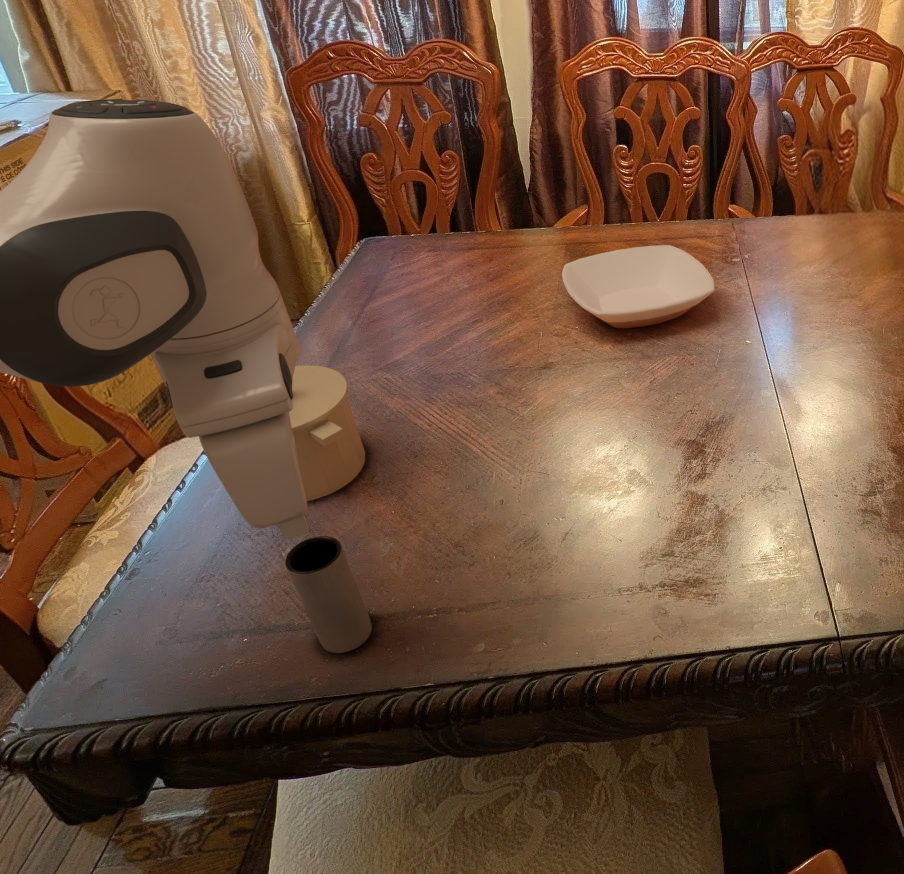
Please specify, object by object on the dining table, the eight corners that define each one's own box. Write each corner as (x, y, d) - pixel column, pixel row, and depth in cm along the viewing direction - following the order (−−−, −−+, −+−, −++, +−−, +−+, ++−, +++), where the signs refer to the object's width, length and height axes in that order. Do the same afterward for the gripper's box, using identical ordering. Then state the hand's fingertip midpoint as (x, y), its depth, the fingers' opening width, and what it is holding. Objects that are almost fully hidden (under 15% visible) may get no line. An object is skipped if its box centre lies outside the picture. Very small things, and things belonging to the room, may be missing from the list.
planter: (382, 623, 74) (353, 542, 68) (349, 660, 71) (314, 579, 65) (344, 609, 76) (311, 529, 70) (309, 645, 73) (272, 565, 66)
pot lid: (261, 457, 81) (247, 424, 78) (196, 413, 87) (181, 382, 85) (374, 397, 89) (364, 365, 87) (306, 361, 96) (295, 331, 93)
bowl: (731, 324, 119) (731, 292, 116) (591, 355, 113) (587, 321, 110) (678, 268, 135) (677, 238, 132) (553, 292, 129) (549, 261, 126)
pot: (305, 528, 85) (276, 458, 80) (220, 467, 94) (188, 400, 88) (401, 469, 93) (381, 401, 87) (314, 418, 102) (290, 353, 96)
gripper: (176, 294, 62) (240, 437, 70) (174, 433, 47) (257, 593, 55) (263, 276, 64) (316, 417, 72) (288, 403, 49) (351, 561, 58)
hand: (290, 494), depth 64 cm, fingers open, 8 cm apart
